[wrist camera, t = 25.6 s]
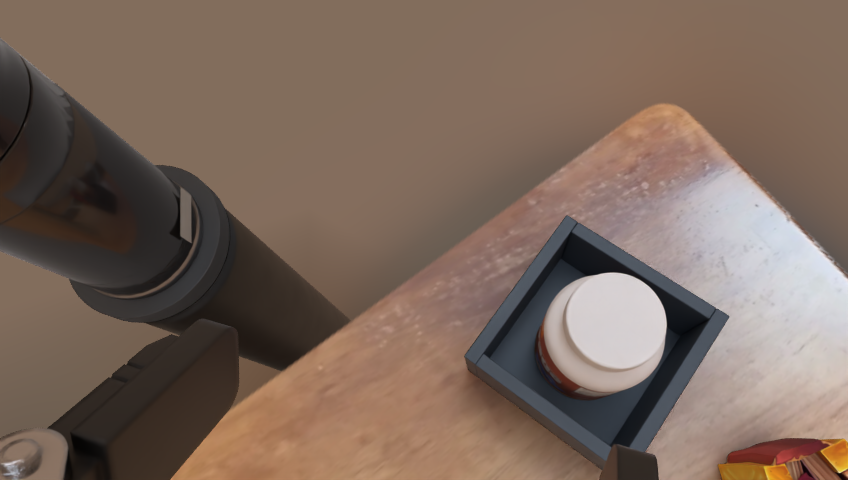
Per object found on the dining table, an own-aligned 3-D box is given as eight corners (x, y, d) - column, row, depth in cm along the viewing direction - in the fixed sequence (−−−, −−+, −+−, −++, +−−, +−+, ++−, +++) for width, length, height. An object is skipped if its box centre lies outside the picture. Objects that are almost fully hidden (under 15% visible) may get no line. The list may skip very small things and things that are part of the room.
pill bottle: (529, 307, 40) (544, 258, 29) (624, 304, 39) (672, 252, 29) (537, 403, 38) (555, 387, 27) (636, 400, 37) (694, 383, 27)
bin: (467, 369, 39) (463, 356, 34) (555, 247, 42) (566, 214, 36) (606, 473, 37) (628, 478, 31) (693, 335, 39) (730, 316, 33)
